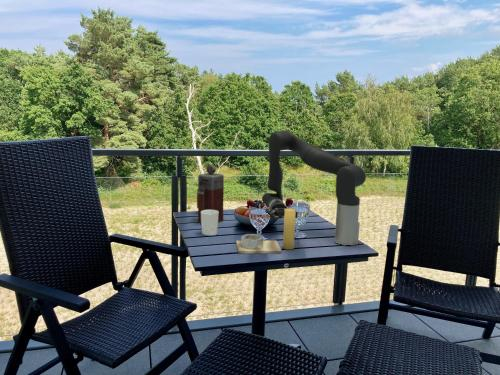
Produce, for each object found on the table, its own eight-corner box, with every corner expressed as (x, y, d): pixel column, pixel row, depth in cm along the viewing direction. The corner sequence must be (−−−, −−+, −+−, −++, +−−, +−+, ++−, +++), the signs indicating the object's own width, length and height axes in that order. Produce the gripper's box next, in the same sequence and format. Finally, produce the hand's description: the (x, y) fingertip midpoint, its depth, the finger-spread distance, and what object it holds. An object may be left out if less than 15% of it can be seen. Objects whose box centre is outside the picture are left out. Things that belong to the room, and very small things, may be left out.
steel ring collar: (261, 242, 181) (261, 234, 180) (264, 249, 173) (264, 240, 172) (240, 242, 180) (240, 234, 179) (242, 249, 172) (242, 240, 171)
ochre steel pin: (292, 245, 181) (294, 208, 177) (294, 249, 176) (296, 211, 173) (282, 245, 180) (283, 208, 177) (284, 249, 176) (285, 211, 173)
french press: (194, 222, 211) (194, 165, 205) (209, 217, 220) (209, 162, 214) (208, 225, 206) (209, 167, 200) (223, 220, 215) (224, 164, 210)
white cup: (202, 236, 190) (202, 214, 188) (199, 231, 197) (199, 209, 195) (219, 235, 192) (220, 213, 190) (216, 230, 199) (216, 209, 197)
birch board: (276, 242, 184) (276, 240, 184) (281, 253, 171) (281, 250, 171) (236, 242, 182) (236, 240, 182) (238, 253, 170) (238, 251, 169)
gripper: (263, 200, 203) (267, 209, 187) (293, 200, 204) (300, 209, 188) (262, 216, 204) (267, 226, 188) (292, 216, 206) (299, 226, 190)
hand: (283, 217), depth 188 cm, fingers open, 8 cm apart
